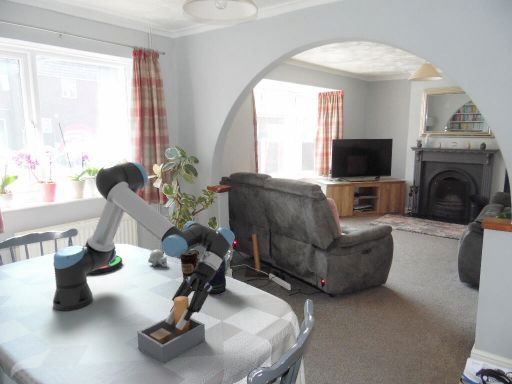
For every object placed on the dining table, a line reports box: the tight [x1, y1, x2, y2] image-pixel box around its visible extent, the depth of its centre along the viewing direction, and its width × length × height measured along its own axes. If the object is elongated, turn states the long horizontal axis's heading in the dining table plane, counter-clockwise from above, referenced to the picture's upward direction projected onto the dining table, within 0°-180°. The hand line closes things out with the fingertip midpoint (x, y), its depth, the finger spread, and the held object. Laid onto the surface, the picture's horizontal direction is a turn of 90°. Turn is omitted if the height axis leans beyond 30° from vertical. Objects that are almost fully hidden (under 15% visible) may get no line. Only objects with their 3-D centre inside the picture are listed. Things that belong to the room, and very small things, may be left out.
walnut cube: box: [150, 328, 172, 345], centre depth 124 cm, size 5×5×5 cm
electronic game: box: [88, 254, 123, 275], centre depth 200 cm, size 23×23×5 cm
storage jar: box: [208, 256, 227, 296], centre depth 169 cm, size 10×10×15 cm
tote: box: [136, 317, 206, 365], centre depth 127 cm, size 18×14×6 cm
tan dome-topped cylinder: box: [173, 296, 190, 335], centre depth 130 cm, size 5×5×12 cm
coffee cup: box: [179, 250, 198, 279], centre depth 184 cm, size 9×8×13 cm
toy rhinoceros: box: [147, 249, 168, 269], centre depth 201 cm, size 7×12×8 cm, turn 53°
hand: (173, 325), depth 127 cm, fingers closed on tan dome-topped cylinder, 5 cm apart
